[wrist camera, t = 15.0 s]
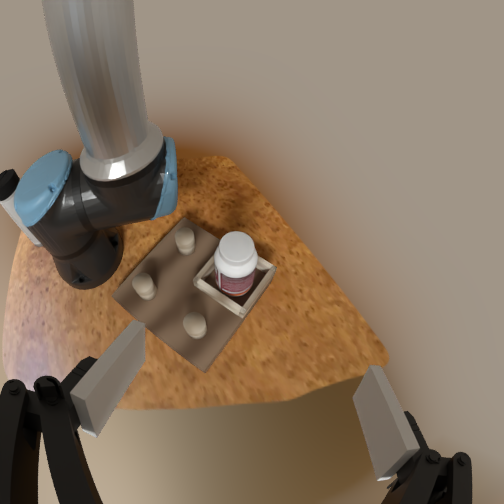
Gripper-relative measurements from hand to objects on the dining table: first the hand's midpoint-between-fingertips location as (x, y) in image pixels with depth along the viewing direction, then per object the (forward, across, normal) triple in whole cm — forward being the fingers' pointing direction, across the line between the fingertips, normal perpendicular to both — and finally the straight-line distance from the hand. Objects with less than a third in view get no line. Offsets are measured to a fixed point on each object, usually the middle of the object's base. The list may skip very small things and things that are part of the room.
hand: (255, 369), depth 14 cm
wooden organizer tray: (+31, -10, -11) cm, 34 cm away
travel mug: (+34, -49, -9) cm, 60 cm away
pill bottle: (+31, -4, -7) cm, 32 cm away
